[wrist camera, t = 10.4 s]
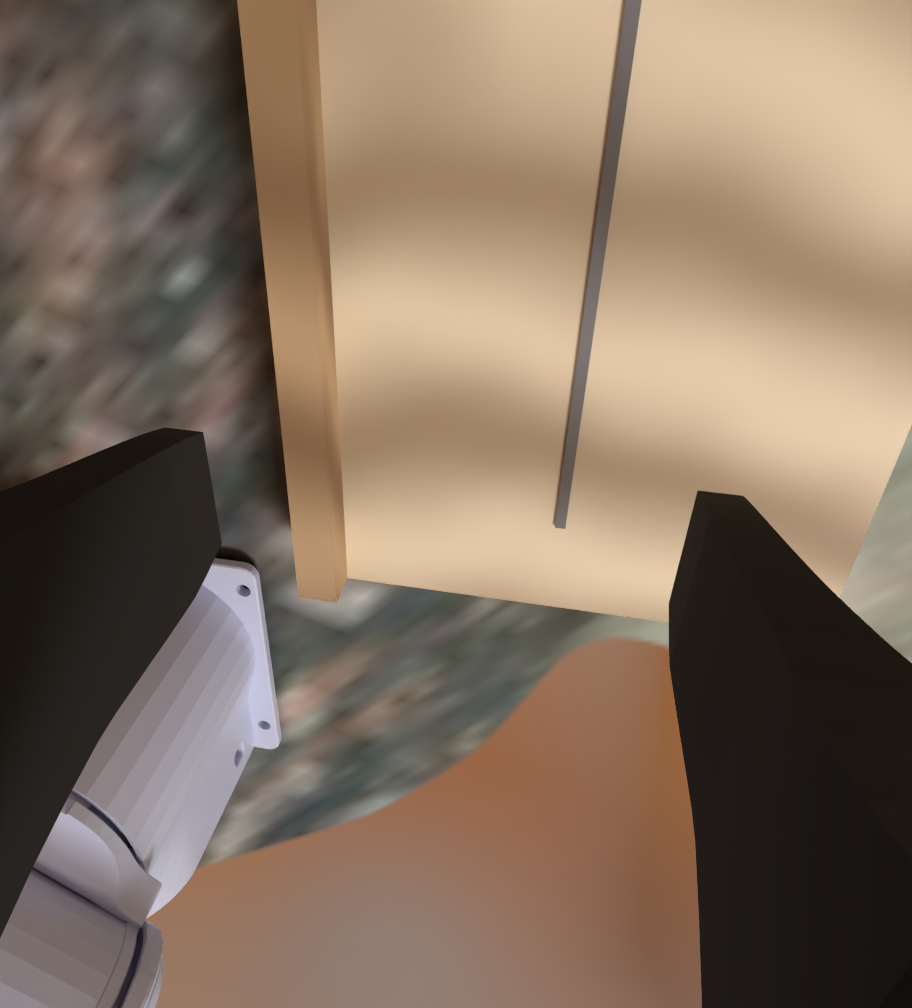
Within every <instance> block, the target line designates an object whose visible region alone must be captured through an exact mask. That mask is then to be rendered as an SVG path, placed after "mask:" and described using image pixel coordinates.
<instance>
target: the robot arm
mask: <svg viewBox="0 0 912 1008" xmlns="http://www.w3.org/2000/svg"><path fill="white" fill-rule="evenodd" d="M221 543H222V542H221V536H220V530H219V524H218V518H217V512H216V507H215V501H214V495H213V489H212V483H211V477H210V471H209V465H208V459H207V453H206V447H205V441H204V435H203V432H197V431H189V430H180V429H172V428H162V429H158V430H155V431H151V432H148V433H145V434H143V435H140V436H137V437H134V438H132V439H129V440H127V441H124V442H122V443H119V444H117V445H114V446H112V447H109V448H107V449H104V450H102V451H100V452H97V453H95V454H92V455H90V456H88V457H85V458H83V459H81V460H78V461H76V462H73V463H71V464H69V465H66V466H64V467H62V468H59V469H57V470H54V471H52V472H50V473H47V474H45V475H42V476H40V477H38V478H35V479H33V480H30V481H28V482H25V483H23V484H20V485H17V486H15V487H12V488H10V489H7V490H4V491H2V492H0V1008H155V1006H156V1002H157V1000H158V996H159V993H160V989H161V984H162V978H163V959H162V953H163V938H162V935H161V931H160V930H159V929H158V928H157V927H156V925H154V924H152V923H150V922H147V921H145V920H146V918H148V917H149V916H151V915H152V914H154V913H155V912H157V911H158V910H159V909H161V908H162V907H163V906H164V905H166V904H167V903H168V902H169V901H170V900H171V899H173V897H174V896H175V895H176V894H177V893H178V892H179V891H180V890H181V889H182V888H183V887H184V885H185V884H186V883H187V882H188V880H189V879H190V877H191V876H192V874H193V872H194V871H195V869H196V867H197V865H198V863H199V861H200V859H201V857H202V855H203V853H204V850H205V848H206V846H207V844H208V842H209V840H210V838H211V836H212V834H213V832H214V830H215V827H216V825H217V823H218V821H219V819H220V817H221V815H222V813H223V811H224V809H225V807H226V805H227V802H228V800H229V798H230V796H231V794H232V792H233V790H234V788H235V786H236V784H237V782H238V779H239V777H240V775H241V773H242V771H243V769H244V767H245V765H246V763H247V761H248V759H249V757H250V754H251V752H252V750H253V748H254V747H260V748H266V749H274V748H277V747H278V745H279V743H280V741H281V729H280V722H279V715H278V708H277V700H276V693H275V686H274V678H273V671H272V664H271V657H270V649H269V642H268V635H267V627H266V620H265V613H264V606H263V598H262V591H261V584H260V577H259V573H258V571H257V569H256V568H255V567H254V566H252V565H251V564H249V563H245V562H240V561H233V560H225V559H218V558H215V557H216V554H217V552H218V550H219V548H220V546H221ZM242 585H244V586H247V587H248V588H249V589H246V588H244V587H243V586H242ZM669 656H670V671H671V678H672V685H673V691H674V697H675V705H676V711H677V718H678V724H679V730H680V737H681V742H682V749H683V756H684V762H685V768H686V774H687V781H688V788H689V794H690V800H691V807H692V815H693V824H694V833H695V842H696V843H695V844H696V861H697V862H696V863H697V882H698V901H699V902H698V903H699V927H700V955H701V984H702V1008H912V663H911V662H909V661H908V660H907V659H906V658H905V657H903V656H902V655H901V654H900V653H899V652H898V651H896V650H895V649H894V648H893V647H892V646H891V645H889V644H888V643H887V642H886V641H885V640H884V639H883V638H882V637H880V636H879V635H878V634H877V633H876V632H875V631H874V630H873V629H872V628H871V627H870V626H869V625H867V624H866V623H865V622H864V621H863V620H862V619H861V618H860V617H859V616H858V615H857V614H855V613H854V612H853V611H852V610H851V609H850V608H849V607H848V606H847V605H846V604H845V603H844V602H843V601H842V600H841V599H840V598H839V597H838V596H837V595H836V594H835V593H834V592H833V591H832V590H831V589H830V588H829V587H828V586H827V585H826V584H825V583H824V582H823V581H822V580H821V579H820V578H819V577H818V576H817V575H816V574H815V573H814V572H813V571H812V570H811V569H810V568H809V566H808V565H807V564H806V563H805V562H804V561H803V560H802V559H801V558H800V557H799V556H798V555H797V554H796V553H795V551H794V550H793V549H792V548H791V547H790V546H789V545H788V544H787V543H786V542H785V540H784V539H783V538H782V537H781V536H780V535H779V534H778V533H777V532H776V530H775V529H774V528H773V527H772V526H771V525H770V524H769V523H768V522H767V520H766V519H765V518H764V517H763V516H762V515H761V514H760V513H759V512H758V510H757V509H756V508H755V507H754V506H753V505H752V504H751V503H750V502H749V501H748V500H747V499H746V498H745V497H744V496H741V495H732V494H724V493H715V492H707V491H697V495H696V499H695V503H694V507H693V510H692V514H691V518H690V522H689V526H688V530H687V534H686V538H685V542H684V546H683V550H682V554H681V557H680V561H679V565H678V569H677V573H676V577H675V581H674V585H673V589H672V593H671V597H670V600H669Z"/></svg>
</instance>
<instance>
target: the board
mask: <svg viewBox="0 0 912 1008" xmlns="http://www.w3.org/2000/svg"><path fill="white" fill-rule="evenodd" d="M237 4H238V14H239V24H240V33H241V43H242V53H243V63H244V72H245V82H246V92H247V102H248V111H249V121H250V131H251V141H252V150H253V160H254V170H255V180H256V189H257V199H258V209H259V218H260V228H261V238H262V248H263V257H264V267H265V277H266V287H267V296H268V306H269V316H270V326H271V335H272V345H273V355H274V365H275V374H276V384H277V394H278V403H279V413H280V423H281V433H282V442H283V452H284V462H285V472H286V481H287V491H288V501H289V511H290V520H291V530H292V540H293V550H294V559H295V569H296V579H297V589H298V597H301V598H308V599H315V600H322V601H329V602H337V600H338V598H339V595H340V593H341V591H342V589H343V587H344V585H345V582H346V580H347V578H351V579H358V580H365V581H373V582H380V583H387V584H394V585H402V586H409V587H416V588H423V589H430V590H438V591H445V592H452V593H459V594H467V595H474V596H481V597H488V598H495V599H503V600H510V601H517V602H524V603H531V604H539V605H546V606H553V607H560V608H568V609H575V610H582V611H589V612H596V613H604V614H611V615H618V616H625V617H633V618H640V619H647V620H654V621H661V622H669V600H670V597H671V593H672V589H673V585H674V581H675V577H676V573H677V569H678V565H679V561H680V557H681V554H682V550H683V546H684V542H685V538H686V534H687V530H688V526H689V522H690V518H691V514H692V510H693V507H694V503H695V499H696V495H697V491H707V492H715V493H724V494H732V495H741V496H744V497H745V498H746V499H747V500H748V501H749V502H750V503H751V504H752V505H753V506H754V507H755V508H756V509H757V510H758V512H759V513H760V514H761V515H762V516H763V517H764V518H765V519H766V520H767V522H768V523H769V524H770V525H771V526H772V527H773V528H774V529H775V530H776V532H777V533H778V534H779V535H780V536H781V537H782V538H783V539H784V540H785V542H786V543H787V544H788V545H789V546H790V547H791V548H792V549H793V550H794V551H795V553H796V554H797V555H798V556H799V557H800V558H801V559H802V560H803V561H804V562H805V563H806V564H807V565H808V566H809V568H810V569H811V570H812V571H813V572H814V573H815V574H816V575H817V576H818V577H819V578H820V579H821V580H822V581H823V582H824V583H825V584H826V585H827V586H828V587H829V588H830V589H831V590H832V591H833V592H834V593H835V594H836V595H837V596H838V597H840V595H841V593H842V590H843V588H844V585H845V583H846V581H847V578H848V576H849V573H850V571H851V569H852V566H853V564H854V561H855V559H856V557H857V554H858V552H859V550H860V547H861V545H862V542H863V540H864V538H865V535H866V533H867V530H868V528H869V526H870V523H871V521H872V518H873V516H874V514H875V511H876V509H877V507H878V504H879V502H880V499H881V497H882V495H883V492H884V490H885V487H886V485H887V483H888V480H889V478H890V475H891V473H892V471H893V468H894V466H895V464H896V461H897V459H898V456H899V454H900V452H901V449H902V447H903V444H904V442H905V440H906V437H907V435H908V432H909V430H910V428H911V425H912V0H237Z"/></svg>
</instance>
